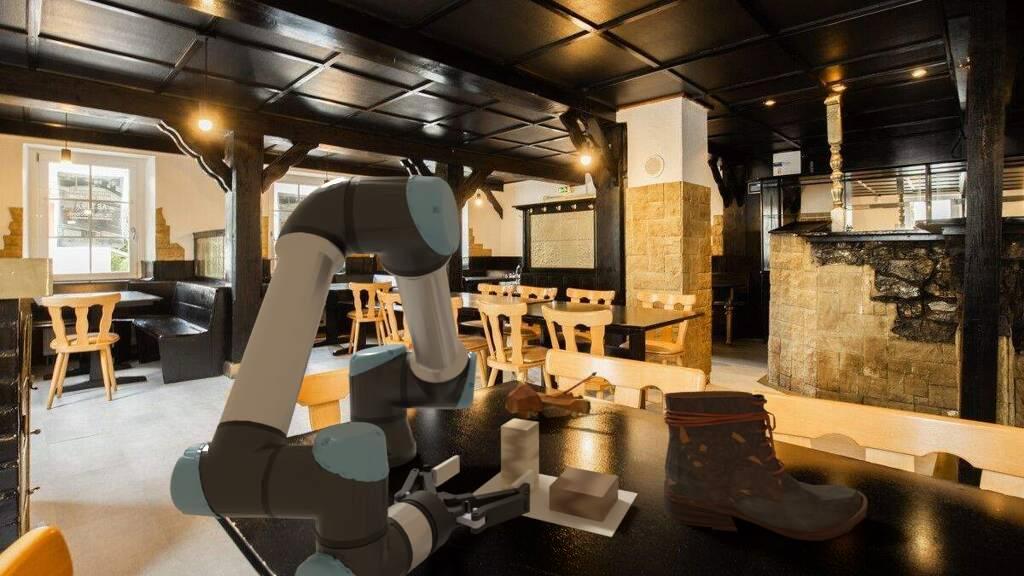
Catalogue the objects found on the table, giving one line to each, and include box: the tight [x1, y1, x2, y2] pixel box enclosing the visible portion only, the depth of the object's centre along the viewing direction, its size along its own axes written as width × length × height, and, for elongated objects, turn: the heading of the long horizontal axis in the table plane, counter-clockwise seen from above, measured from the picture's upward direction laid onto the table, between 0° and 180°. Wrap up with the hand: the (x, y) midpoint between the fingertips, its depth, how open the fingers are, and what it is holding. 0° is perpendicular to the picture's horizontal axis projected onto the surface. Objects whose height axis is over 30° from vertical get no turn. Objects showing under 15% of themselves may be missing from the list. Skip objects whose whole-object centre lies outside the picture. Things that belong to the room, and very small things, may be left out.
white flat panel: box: [464, 471, 639, 538], centre depth 91 cm, size 26×16×1 cm, turn 63°
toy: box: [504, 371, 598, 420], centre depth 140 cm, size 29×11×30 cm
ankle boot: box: [663, 390, 868, 542], centre depth 83 cm, size 11×31×20 cm, turn 85°
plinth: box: [549, 466, 619, 522], centre depth 88 cm, size 9×9×4 cm
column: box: [500, 418, 540, 496], centre depth 93 cm, size 5×5×12 cm
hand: (493, 470), depth 84 cm, fingers open, 13 cm apart
